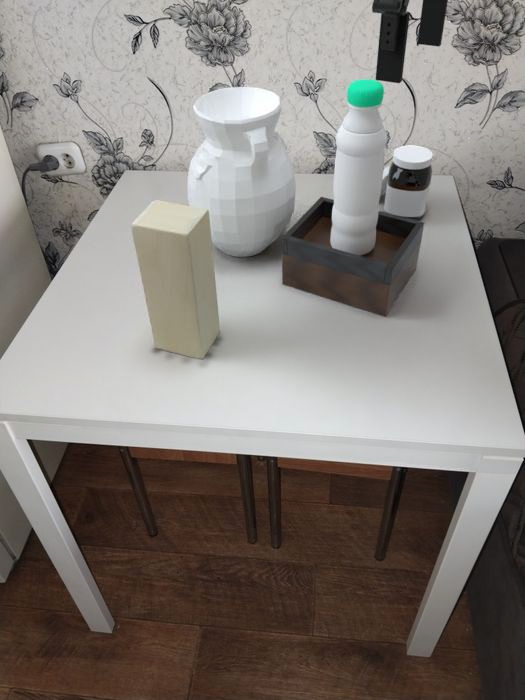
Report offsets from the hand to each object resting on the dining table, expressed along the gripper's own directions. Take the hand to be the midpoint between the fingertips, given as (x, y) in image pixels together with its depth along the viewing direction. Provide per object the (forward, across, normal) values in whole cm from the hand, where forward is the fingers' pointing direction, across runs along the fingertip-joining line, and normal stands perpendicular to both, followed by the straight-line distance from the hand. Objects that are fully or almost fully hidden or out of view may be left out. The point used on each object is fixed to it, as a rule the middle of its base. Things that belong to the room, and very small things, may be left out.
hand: (410, 61), depth 68 cm
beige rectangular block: (+36, +20, -22) cm, 47 cm away
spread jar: (+36, -29, -8) cm, 47 cm away
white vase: (+36, -6, -28) cm, 46 cm away
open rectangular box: (+36, -5, -7) cm, 37 cm away
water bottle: (+30, -5, -7) cm, 31 cm away
